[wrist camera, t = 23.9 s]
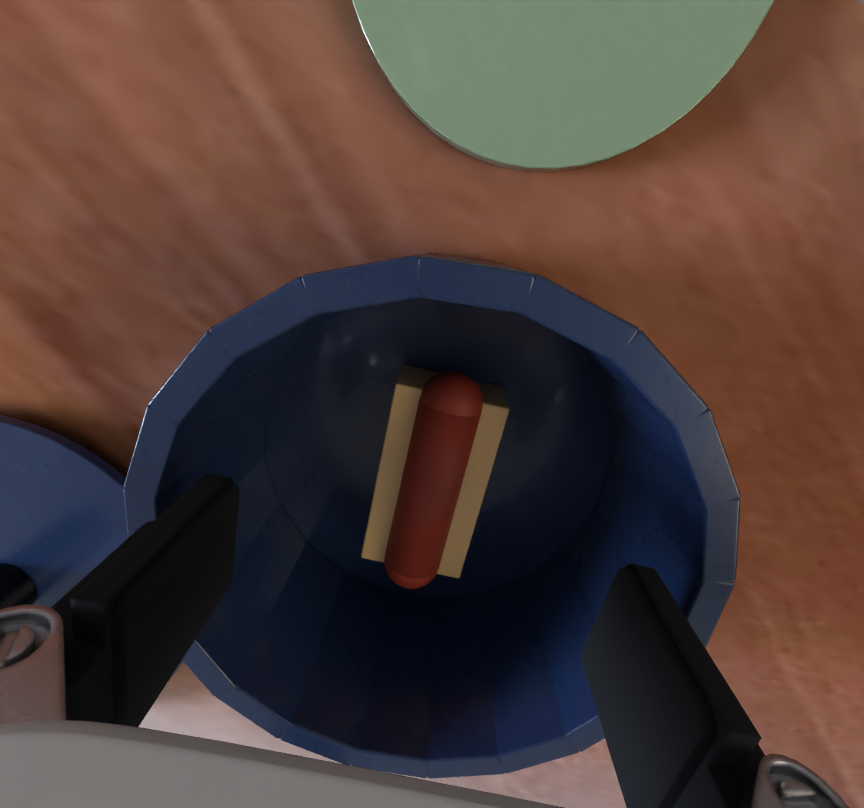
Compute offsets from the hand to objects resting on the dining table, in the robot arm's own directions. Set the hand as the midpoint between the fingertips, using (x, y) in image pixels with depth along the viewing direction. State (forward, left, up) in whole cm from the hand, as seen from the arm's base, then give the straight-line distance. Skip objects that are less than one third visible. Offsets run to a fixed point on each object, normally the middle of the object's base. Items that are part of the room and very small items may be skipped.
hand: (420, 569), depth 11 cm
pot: (0, 0, -7) cm, 7 cm away
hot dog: (0, 0, -7) cm, 7 cm away
